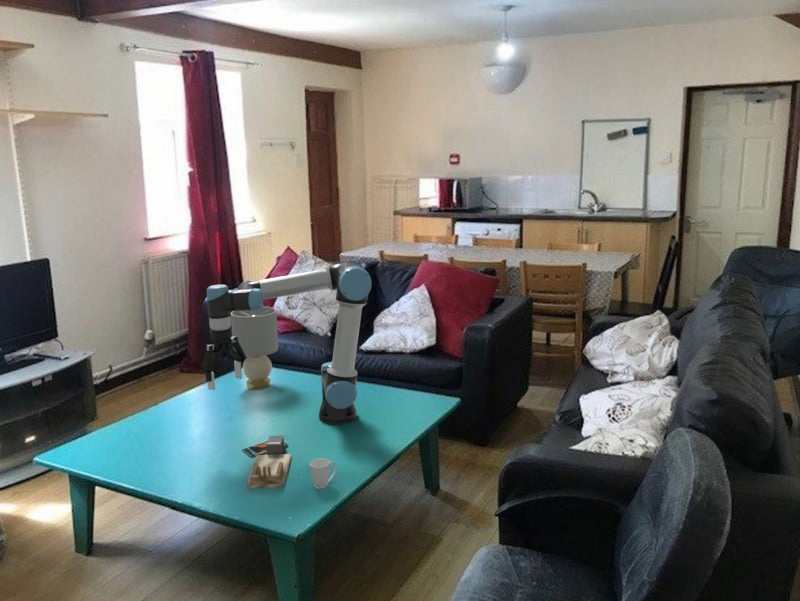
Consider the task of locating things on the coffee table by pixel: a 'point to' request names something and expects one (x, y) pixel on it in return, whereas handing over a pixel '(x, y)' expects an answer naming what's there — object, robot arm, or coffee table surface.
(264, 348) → the lamp
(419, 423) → the coffee table surface
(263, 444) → the smartphone
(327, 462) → the cup
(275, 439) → the plug
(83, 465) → the coffee table surface
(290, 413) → the coffee table surface
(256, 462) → the board
